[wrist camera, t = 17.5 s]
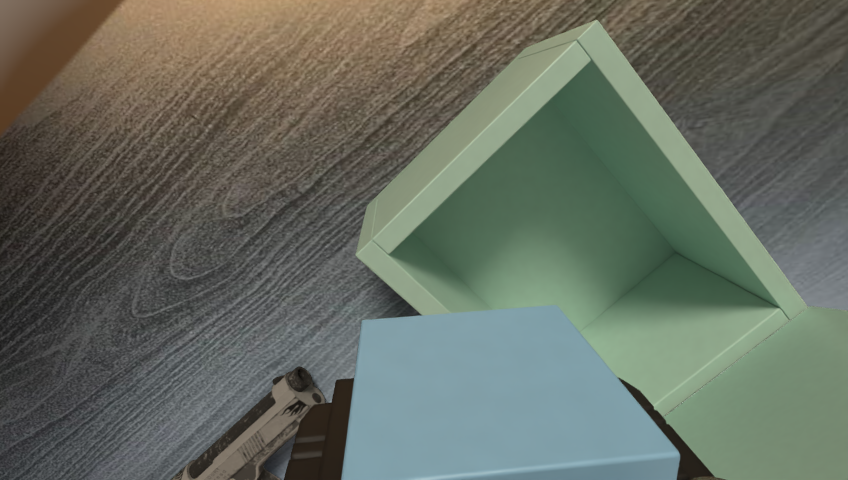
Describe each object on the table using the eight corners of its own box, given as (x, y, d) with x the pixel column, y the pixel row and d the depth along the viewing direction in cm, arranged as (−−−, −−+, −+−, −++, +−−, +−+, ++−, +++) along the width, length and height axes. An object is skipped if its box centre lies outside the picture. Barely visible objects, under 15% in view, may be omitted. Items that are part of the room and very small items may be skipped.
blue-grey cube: (361, 318, 10) (338, 488, 6) (557, 303, 10) (683, 453, 6) (377, 476, 11) (369, 710, 7) (550, 459, 12) (646, 675, 7)
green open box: (366, 206, 27) (354, 256, 18) (525, 47, 25) (597, 18, 16) (538, 368, 31) (594, 469, 23) (686, 246, 29) (809, 307, 21)
